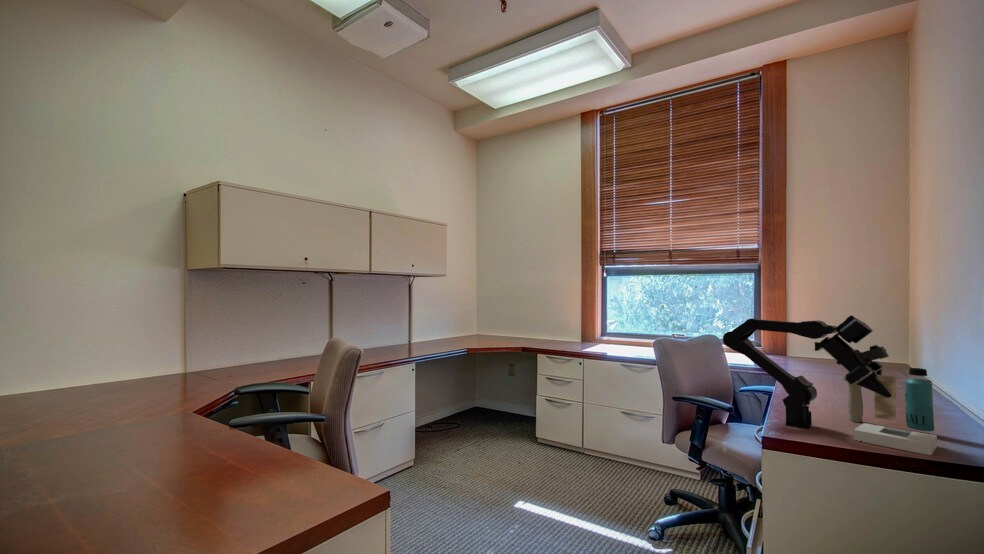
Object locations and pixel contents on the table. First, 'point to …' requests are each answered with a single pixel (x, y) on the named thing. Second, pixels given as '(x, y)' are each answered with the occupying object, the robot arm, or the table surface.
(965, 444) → the table surface
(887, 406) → the plug
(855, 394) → the handle
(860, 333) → the robot arm
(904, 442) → the block
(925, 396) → the beverage bottle
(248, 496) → the table surface
